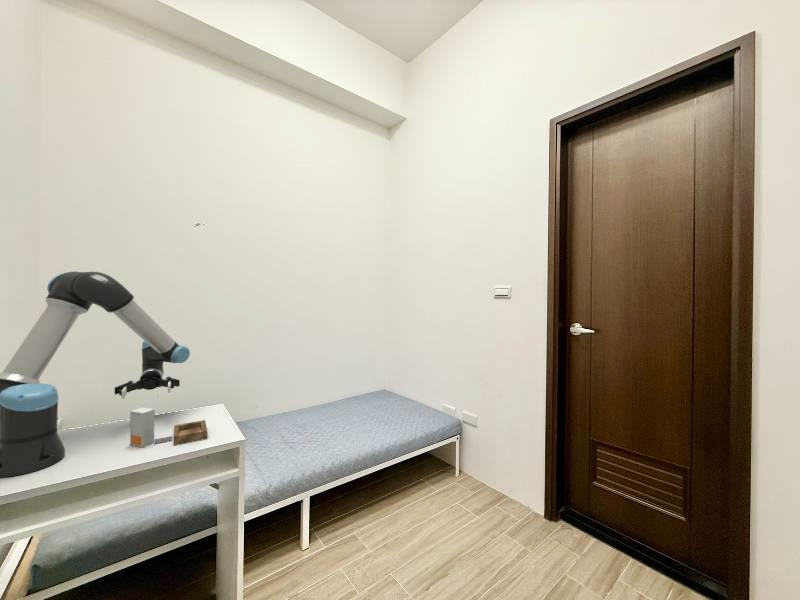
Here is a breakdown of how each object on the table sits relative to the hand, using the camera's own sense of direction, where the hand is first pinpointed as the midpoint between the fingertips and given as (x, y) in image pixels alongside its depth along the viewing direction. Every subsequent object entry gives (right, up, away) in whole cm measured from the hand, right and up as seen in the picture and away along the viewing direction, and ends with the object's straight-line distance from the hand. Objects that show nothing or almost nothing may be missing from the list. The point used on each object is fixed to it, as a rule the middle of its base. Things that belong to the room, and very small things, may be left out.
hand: (146, 391), depth 121 cm
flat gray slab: (+10, -16, -5) cm, 20 cm away
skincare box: (+5, -16, -8) cm, 19 cm away
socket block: (+17, -16, -1) cm, 23 cm away
